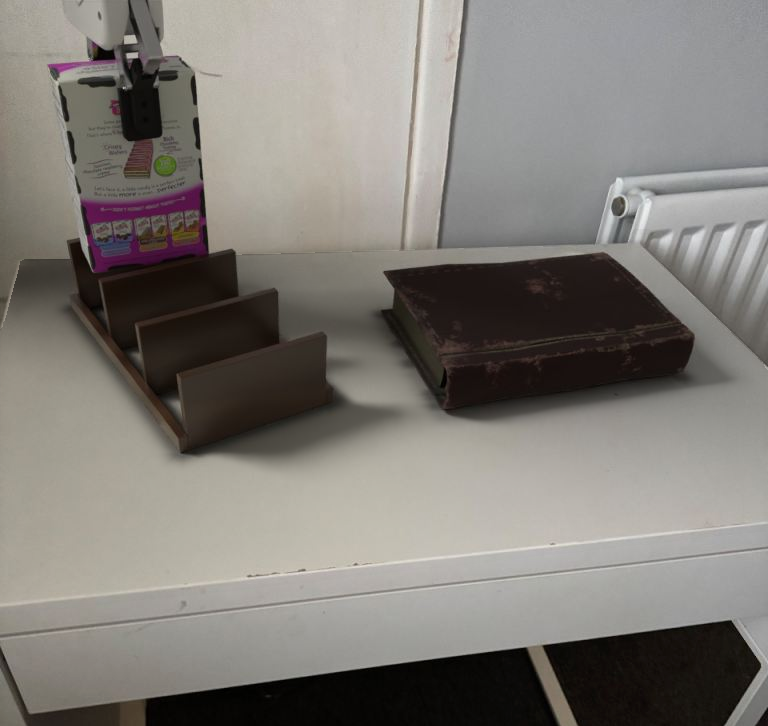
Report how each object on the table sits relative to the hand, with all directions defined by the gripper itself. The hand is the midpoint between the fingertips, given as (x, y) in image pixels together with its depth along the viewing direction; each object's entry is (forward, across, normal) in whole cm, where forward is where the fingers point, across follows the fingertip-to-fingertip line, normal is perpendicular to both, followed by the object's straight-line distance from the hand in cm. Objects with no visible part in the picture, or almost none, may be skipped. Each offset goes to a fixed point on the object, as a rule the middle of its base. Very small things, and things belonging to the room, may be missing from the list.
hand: (129, 123), depth 71 cm
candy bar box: (+12, 0, 0) cm, 12 cm away
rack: (+18, +9, +1) cm, 20 cm away
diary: (+17, +23, +30) cm, 41 cm away
